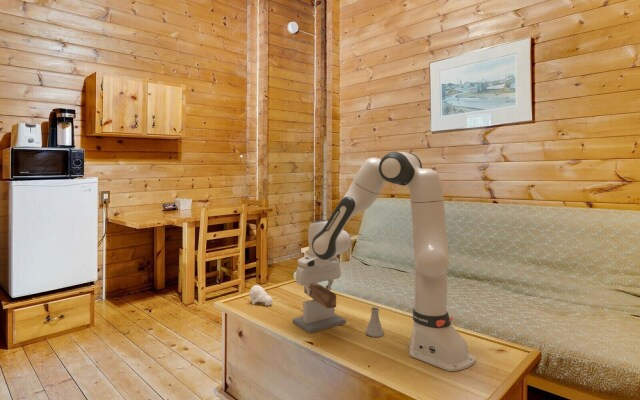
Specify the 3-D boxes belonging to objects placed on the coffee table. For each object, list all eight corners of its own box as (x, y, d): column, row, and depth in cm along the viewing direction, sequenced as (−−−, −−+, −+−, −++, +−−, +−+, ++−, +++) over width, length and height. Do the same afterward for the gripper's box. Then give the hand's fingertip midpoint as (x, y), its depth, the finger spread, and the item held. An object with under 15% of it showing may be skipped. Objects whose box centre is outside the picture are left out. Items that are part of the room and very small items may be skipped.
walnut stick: (312, 291, 170) (312, 280, 170) (336, 307, 150) (336, 294, 150) (304, 292, 168) (304, 281, 168) (327, 308, 149) (327, 296, 148)
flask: (363, 336, 147) (363, 310, 147) (367, 328, 154) (368, 304, 153) (382, 338, 145) (382, 313, 144) (385, 331, 152) (386, 306, 151)
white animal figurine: (256, 282, 188) (276, 288, 182) (255, 299, 189) (275, 305, 183) (248, 286, 182) (268, 292, 177) (247, 303, 183) (267, 310, 178)
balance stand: (345, 323, 160) (345, 299, 159) (309, 333, 150) (309, 308, 149) (327, 313, 171) (327, 291, 170) (292, 322, 161) (292, 299, 160)
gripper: (334, 254, 167) (334, 285, 168) (293, 260, 155) (294, 294, 156) (343, 257, 161) (343, 289, 163) (302, 264, 150) (302, 298, 151)
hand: (319, 292), depth 159 cm, fingers open, 8 cm apart
